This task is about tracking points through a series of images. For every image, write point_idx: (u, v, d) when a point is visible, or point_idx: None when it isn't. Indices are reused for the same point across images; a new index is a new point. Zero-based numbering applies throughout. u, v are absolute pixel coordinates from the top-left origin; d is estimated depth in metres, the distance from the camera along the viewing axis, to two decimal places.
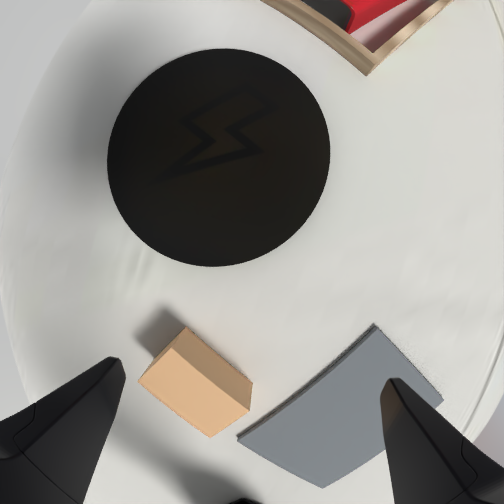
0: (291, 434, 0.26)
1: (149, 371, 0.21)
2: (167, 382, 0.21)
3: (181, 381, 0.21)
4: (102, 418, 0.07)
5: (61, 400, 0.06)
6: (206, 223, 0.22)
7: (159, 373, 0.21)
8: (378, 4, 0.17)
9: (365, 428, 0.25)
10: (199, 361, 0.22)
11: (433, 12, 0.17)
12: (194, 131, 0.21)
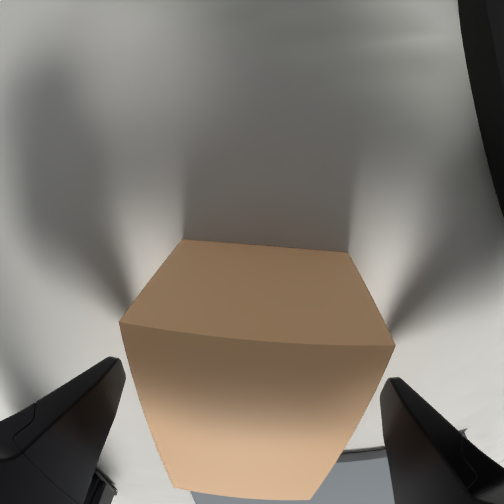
0: None
1: (213, 341, 0.05)
2: (234, 402, 0.06)
3: (280, 423, 0.06)
4: (102, 418, 0.07)
5: (61, 400, 0.06)
6: None
7: (244, 369, 0.05)
8: None
9: None
10: None
11: None
12: None
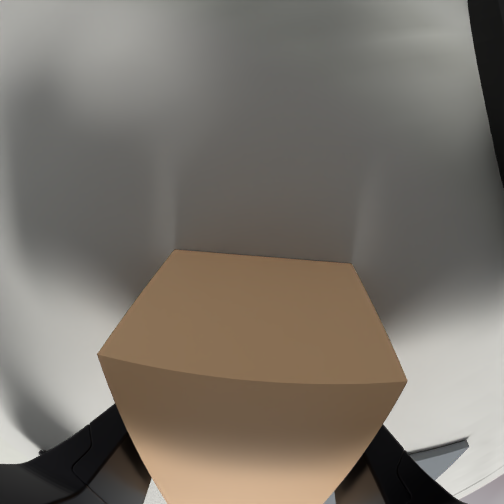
0: None
1: (201, 379, 0.04)
2: (227, 437, 0.05)
3: (278, 456, 0.05)
4: None
5: (120, 419, 0.06)
6: None
7: (237, 408, 0.04)
8: None
9: None
10: None
11: None
12: None
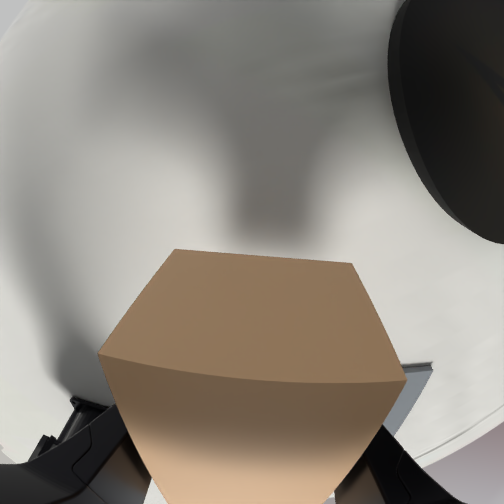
0: None
1: (202, 378, 0.04)
2: (227, 436, 0.05)
3: (279, 455, 0.05)
4: None
5: (120, 419, 0.06)
6: (470, 146, 0.12)
7: (237, 407, 0.04)
8: None
9: None
10: None
11: None
12: None
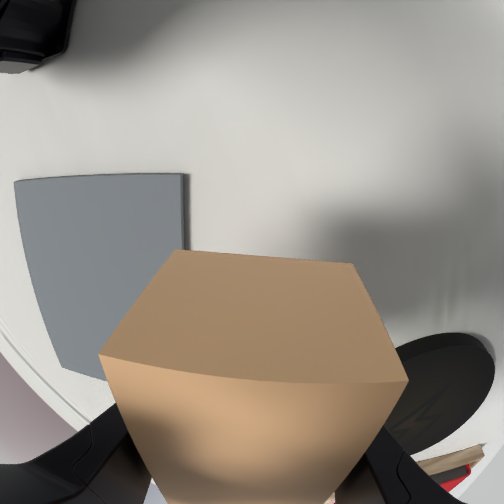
0: (134, 249, 0.18)
1: (203, 379, 0.04)
2: (228, 437, 0.05)
3: (280, 456, 0.05)
4: None
5: (120, 419, 0.06)
6: None
7: (238, 407, 0.04)
8: None
9: (81, 309, 0.20)
10: None
11: None
12: (431, 416, 0.21)
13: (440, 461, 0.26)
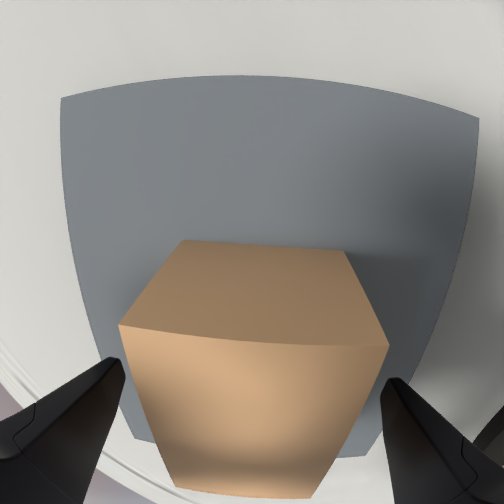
0: (382, 241, 0.09)
1: (210, 342, 0.05)
2: (231, 402, 0.06)
3: (278, 422, 0.06)
4: (102, 418, 0.07)
5: (61, 400, 0.06)
6: None
7: (241, 370, 0.05)
8: None
9: None
10: None
11: None
12: None
13: None
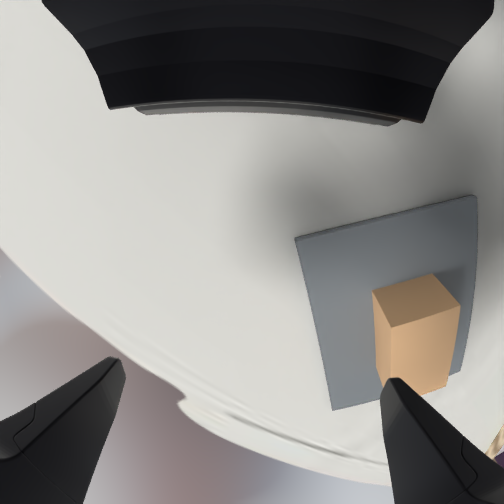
0: (445, 264, 0.19)
1: (417, 321, 0.15)
2: (421, 339, 0.16)
3: (434, 342, 0.16)
4: (102, 418, 0.07)
5: (61, 400, 0.06)
6: None
7: (424, 326, 0.16)
8: None
9: None
10: None
11: (503, 442, 0.28)
12: None
13: None
